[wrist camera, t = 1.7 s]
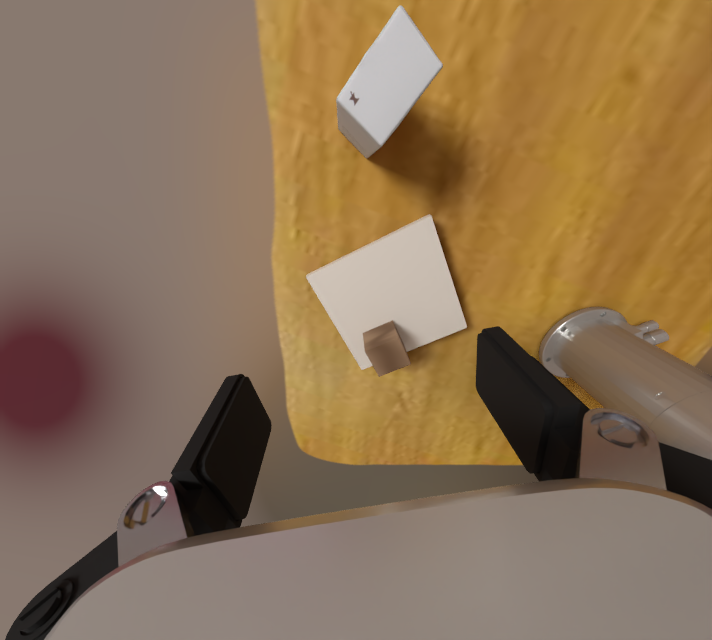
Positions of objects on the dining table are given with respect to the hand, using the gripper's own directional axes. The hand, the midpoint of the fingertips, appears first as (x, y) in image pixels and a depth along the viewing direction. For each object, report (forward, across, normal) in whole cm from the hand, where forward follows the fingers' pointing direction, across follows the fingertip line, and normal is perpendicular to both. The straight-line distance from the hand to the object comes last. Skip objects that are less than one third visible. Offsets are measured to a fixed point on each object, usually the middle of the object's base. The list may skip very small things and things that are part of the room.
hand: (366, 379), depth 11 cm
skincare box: (+26, -5, -12) cm, 29 cm away
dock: (+26, -4, +8) cm, 27 cm away
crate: (+22, -2, +13) cm, 26 cm away
